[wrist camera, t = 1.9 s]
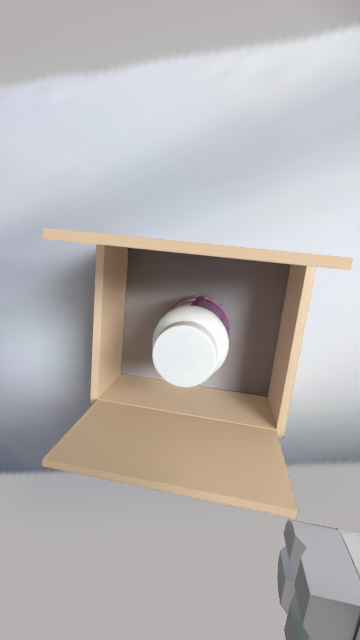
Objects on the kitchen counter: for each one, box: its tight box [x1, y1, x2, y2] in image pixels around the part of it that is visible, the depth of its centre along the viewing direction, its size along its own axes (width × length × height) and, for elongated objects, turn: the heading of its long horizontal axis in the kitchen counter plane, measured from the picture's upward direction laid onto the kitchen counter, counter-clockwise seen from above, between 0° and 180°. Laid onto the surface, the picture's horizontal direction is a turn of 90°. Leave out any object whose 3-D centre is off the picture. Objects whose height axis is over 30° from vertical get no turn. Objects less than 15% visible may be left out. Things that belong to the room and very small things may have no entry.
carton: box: [43, 228, 353, 519], centre depth 22 cm, size 15×13×13 cm
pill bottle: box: [152, 295, 229, 387], centre depth 23 cm, size 5×5×10 cm
